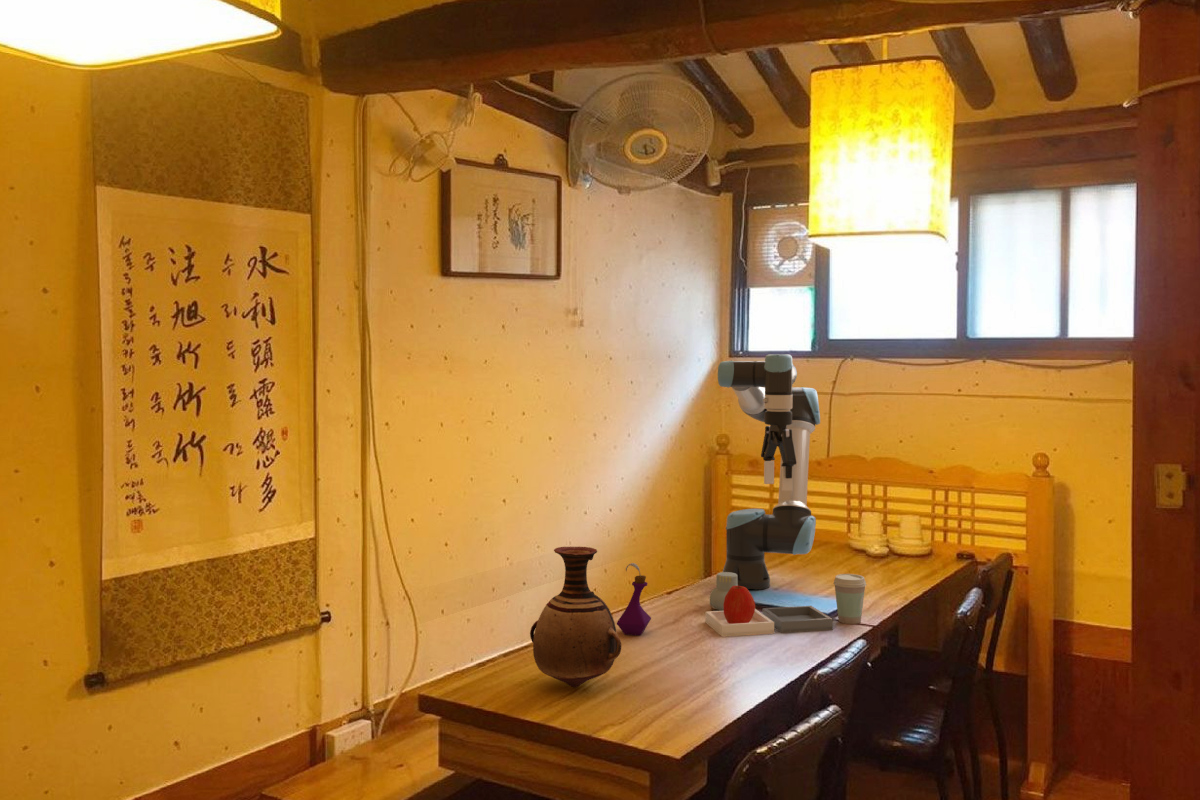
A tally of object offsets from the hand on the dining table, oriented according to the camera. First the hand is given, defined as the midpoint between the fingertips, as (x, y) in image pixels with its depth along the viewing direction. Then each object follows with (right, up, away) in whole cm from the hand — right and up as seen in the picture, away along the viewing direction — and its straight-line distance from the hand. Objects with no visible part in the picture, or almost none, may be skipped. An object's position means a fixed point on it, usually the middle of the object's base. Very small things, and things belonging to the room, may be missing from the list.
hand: (777, 487), depth 284 cm
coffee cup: (+18, -35, -9) cm, 40 cm away
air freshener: (-14, -35, +4) cm, 38 cm away
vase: (-54, -38, -61) cm, 90 cm away
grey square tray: (+3, -35, -12) cm, 37 cm away
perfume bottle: (-40, -36, -20) cm, 58 cm away
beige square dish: (-13, -36, -15) cm, 41 cm away
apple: (-13, -35, -15) cm, 40 cm away
